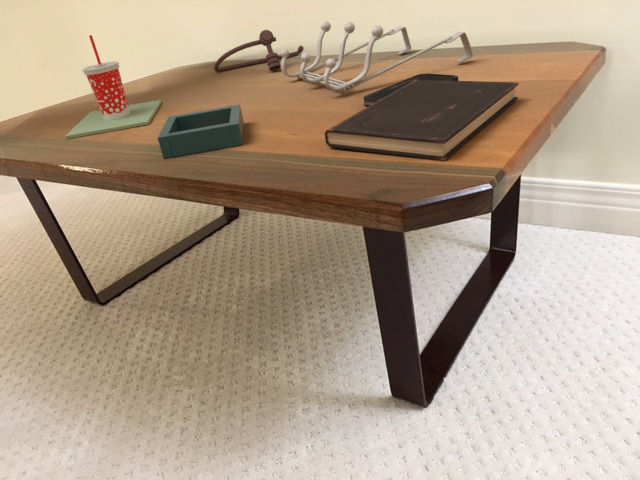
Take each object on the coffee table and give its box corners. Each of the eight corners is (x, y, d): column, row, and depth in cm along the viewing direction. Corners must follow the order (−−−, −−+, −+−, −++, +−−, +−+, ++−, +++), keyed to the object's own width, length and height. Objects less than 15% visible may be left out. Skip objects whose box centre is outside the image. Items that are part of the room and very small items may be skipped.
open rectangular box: (163, 158, 74) (157, 137, 72) (173, 135, 83) (168, 116, 82) (243, 144, 74) (238, 123, 73) (244, 123, 84) (239, 104, 82)
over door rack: (281, 82, 106) (272, 30, 102) (407, 51, 115) (403, 2, 111) (329, 100, 88) (321, 38, 84) (473, 62, 97) (472, 4, 93)
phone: (461, 75, 85) (399, 102, 77) (461, 82, 86) (400, 109, 77) (421, 73, 90) (359, 97, 82) (421, 79, 91) (360, 104, 83)
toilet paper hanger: (299, 47, 131) (309, 19, 117) (309, 80, 131) (320, 56, 117) (212, 65, 126) (212, 38, 113) (222, 99, 126) (223, 76, 113)
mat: (66, 139, 91) (65, 135, 91) (91, 114, 105) (89, 111, 105) (148, 124, 92) (147, 121, 91) (162, 102, 106) (161, 99, 105)
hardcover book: (517, 99, 74) (518, 82, 73) (445, 161, 58) (444, 140, 57) (412, 94, 83) (411, 79, 82) (325, 146, 68) (323, 129, 66)
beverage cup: (100, 116, 100) (73, 37, 94) (133, 109, 101) (109, 30, 95) (99, 123, 95) (70, 40, 88) (134, 116, 96) (108, 33, 90)
